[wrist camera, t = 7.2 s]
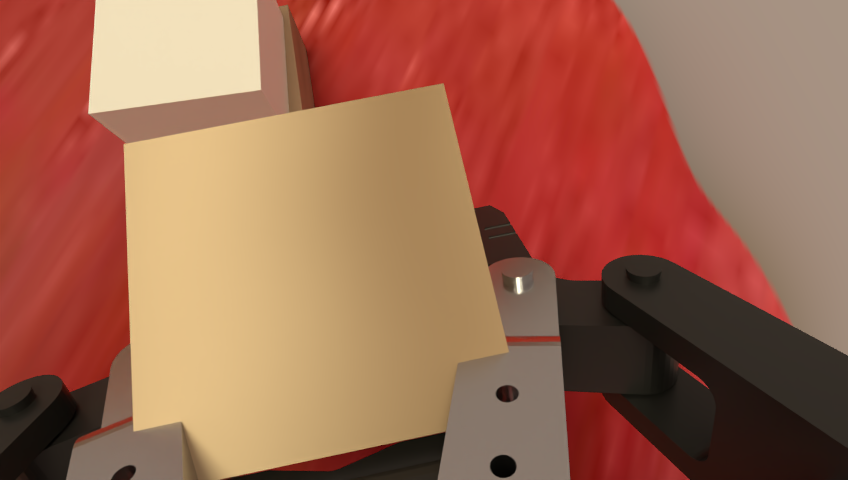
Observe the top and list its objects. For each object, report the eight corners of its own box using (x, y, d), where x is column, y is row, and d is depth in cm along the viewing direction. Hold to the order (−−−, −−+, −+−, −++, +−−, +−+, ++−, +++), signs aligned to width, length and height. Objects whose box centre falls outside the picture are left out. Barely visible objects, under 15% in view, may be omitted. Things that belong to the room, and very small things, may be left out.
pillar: (324, 431, 15) (135, 497, 6) (304, 287, 17) (124, 144, 7) (470, 401, 15) (524, 414, 6) (440, 259, 17) (443, 83, 7)
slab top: (145, 158, 21) (88, 113, 18) (149, 36, 23) (97, -26, 19) (290, 138, 21) (261, 90, 18) (283, 17, 23) (254, -48, 19)
